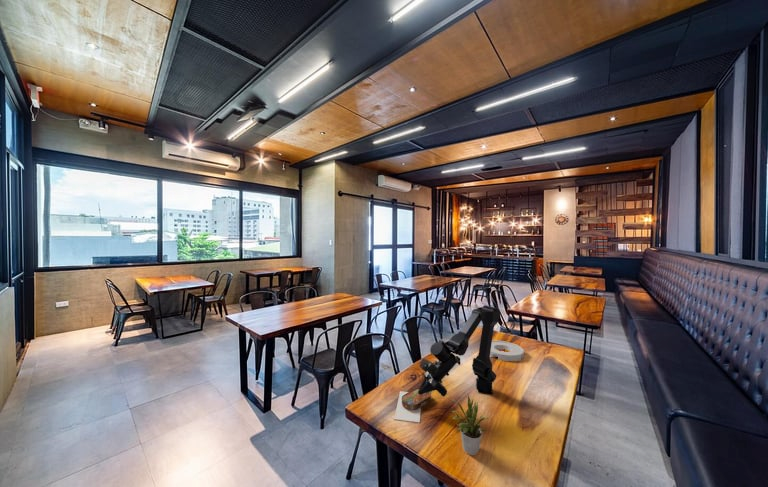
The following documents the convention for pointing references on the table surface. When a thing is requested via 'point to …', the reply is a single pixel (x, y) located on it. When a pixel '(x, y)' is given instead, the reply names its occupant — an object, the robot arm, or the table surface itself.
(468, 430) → the house plant
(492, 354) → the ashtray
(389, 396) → the table surface
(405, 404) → the tin
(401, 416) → the mat
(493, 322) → the robot arm
